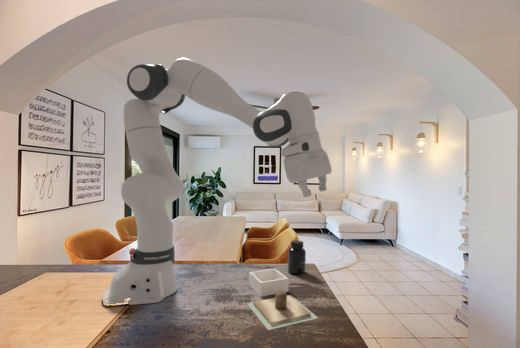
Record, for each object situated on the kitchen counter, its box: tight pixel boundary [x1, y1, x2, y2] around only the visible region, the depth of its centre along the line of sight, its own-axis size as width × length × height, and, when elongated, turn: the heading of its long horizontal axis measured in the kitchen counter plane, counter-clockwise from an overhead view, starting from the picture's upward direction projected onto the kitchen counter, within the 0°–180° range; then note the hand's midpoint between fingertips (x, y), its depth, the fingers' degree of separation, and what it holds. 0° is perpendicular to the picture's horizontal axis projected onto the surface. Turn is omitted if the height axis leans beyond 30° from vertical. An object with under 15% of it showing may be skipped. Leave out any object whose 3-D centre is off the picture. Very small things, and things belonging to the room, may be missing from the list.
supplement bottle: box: [287, 240, 307, 276], centre depth 111 cm, size 7×7×12 cm
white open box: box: [248, 268, 290, 298], centre depth 95 cm, size 10×10×5 cm
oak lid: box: [252, 291, 311, 326], centre depth 80 cm, size 12×12×5 cm
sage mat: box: [246, 294, 319, 331], centre depth 80 cm, size 15×15×1 cm
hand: (315, 193), depth 82 cm, fingers open, 8 cm apart
